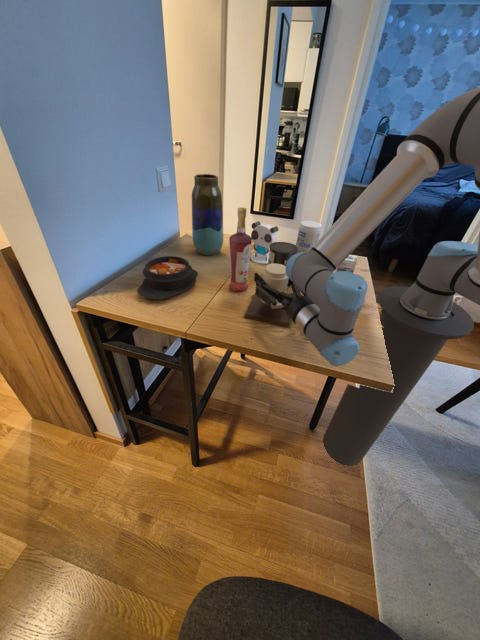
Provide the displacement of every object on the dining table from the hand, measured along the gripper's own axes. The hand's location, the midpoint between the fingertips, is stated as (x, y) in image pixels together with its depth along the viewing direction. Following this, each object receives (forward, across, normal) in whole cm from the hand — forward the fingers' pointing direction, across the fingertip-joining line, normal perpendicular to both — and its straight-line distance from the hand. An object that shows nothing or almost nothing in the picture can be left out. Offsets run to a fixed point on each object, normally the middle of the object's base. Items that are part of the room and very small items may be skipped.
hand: (268, 274), depth 82 cm
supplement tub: (+31, +36, -11) cm, 48 cm away
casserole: (+20, -29, -11) cm, 37 cm away
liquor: (+11, -5, -11) cm, 16 cm away
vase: (+46, -7, -11) cm, 48 cm away
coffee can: (+12, +12, -11) cm, 20 cm away
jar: (-5, 0, -6) cm, 8 cm away
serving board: (-5, 0, -10) cm, 12 cm away
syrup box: (-3, +28, -11) cm, 30 cm away
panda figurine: (+33, +15, -11) cm, 38 cm away
